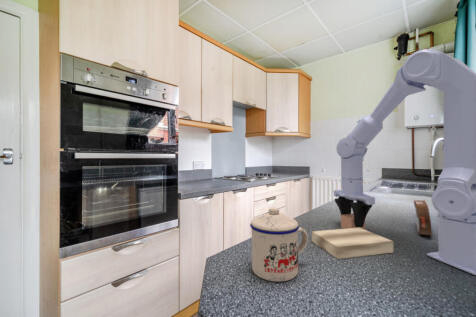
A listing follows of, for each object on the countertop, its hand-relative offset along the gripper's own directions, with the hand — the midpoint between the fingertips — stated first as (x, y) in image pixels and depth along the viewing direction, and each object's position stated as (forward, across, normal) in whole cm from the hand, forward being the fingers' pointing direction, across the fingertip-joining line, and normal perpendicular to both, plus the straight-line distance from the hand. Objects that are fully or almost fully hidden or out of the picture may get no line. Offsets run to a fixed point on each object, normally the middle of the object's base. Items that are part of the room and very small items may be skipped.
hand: (352, 224), depth 64 cm
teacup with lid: (+2, +17, -30) cm, 35 cm away
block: (+2, 0, 0) cm, 2 cm away
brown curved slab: (+2, +6, +18) cm, 19 cm away
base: (+1, +11, -10) cm, 15 cm away
